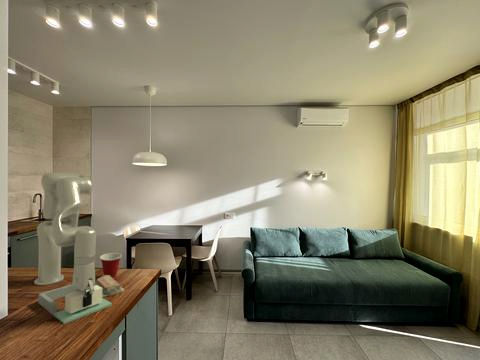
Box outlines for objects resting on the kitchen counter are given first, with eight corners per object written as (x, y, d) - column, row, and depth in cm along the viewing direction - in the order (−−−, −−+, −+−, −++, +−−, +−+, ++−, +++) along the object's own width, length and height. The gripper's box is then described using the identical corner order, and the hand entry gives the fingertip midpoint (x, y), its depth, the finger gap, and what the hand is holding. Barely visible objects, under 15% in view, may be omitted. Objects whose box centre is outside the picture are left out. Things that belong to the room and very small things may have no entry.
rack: (38, 303, 109) (38, 293, 110) (83, 289, 124) (83, 281, 124) (52, 314, 100) (52, 304, 100) (99, 298, 115) (99, 289, 115)
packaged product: (124, 282, 122) (102, 288, 116) (124, 292, 122) (102, 298, 115) (112, 272, 135) (91, 277, 129) (112, 281, 135) (91, 286, 129)
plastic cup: (101, 282, 133) (101, 259, 133) (97, 276, 141) (98, 254, 141) (123, 278, 139) (123, 256, 139) (118, 272, 148) (119, 251, 148)
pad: (53, 315, 100) (53, 313, 100) (100, 298, 114) (100, 297, 114) (63, 323, 94) (63, 321, 94) (111, 305, 109) (111, 303, 109)
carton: (64, 309, 101) (65, 294, 101) (96, 298, 111) (96, 285, 111) (70, 313, 98) (70, 298, 98) (102, 302, 108) (102, 287, 108)
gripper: (66, 257, 106) (65, 301, 106) (84, 266, 96) (83, 314, 96) (85, 253, 112) (84, 295, 112) (104, 261, 103) (103, 306, 102)
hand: (84, 303), depth 104 cm, fingers closed on carton, 5 cm apart
